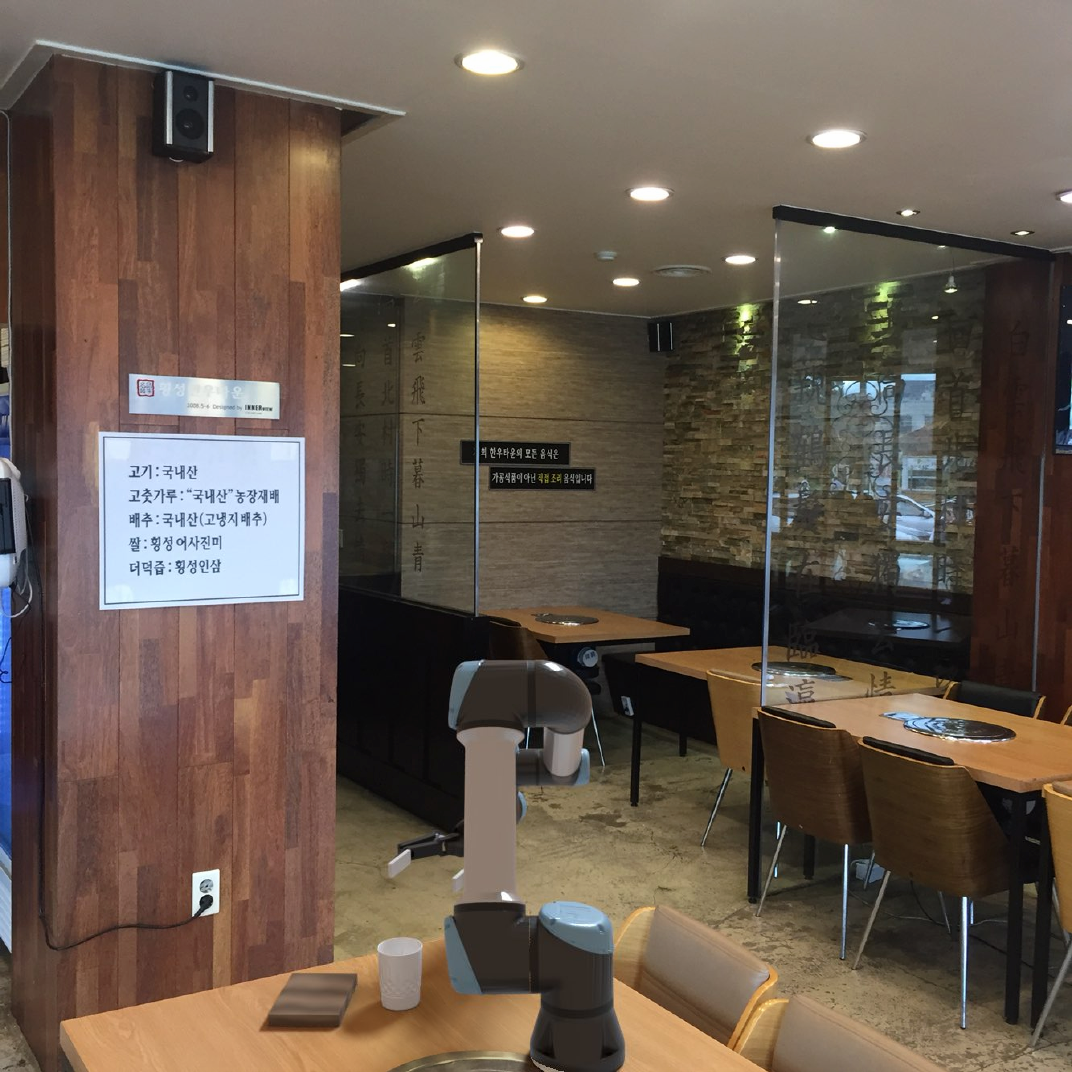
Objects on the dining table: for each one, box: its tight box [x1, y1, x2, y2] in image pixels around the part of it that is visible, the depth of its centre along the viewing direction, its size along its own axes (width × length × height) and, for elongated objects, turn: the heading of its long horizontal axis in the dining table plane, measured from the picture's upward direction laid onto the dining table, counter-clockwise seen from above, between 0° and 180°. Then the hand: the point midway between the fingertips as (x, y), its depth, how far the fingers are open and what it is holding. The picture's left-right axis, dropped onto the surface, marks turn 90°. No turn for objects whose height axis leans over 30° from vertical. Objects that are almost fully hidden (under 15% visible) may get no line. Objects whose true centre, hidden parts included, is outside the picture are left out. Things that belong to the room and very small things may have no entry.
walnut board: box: [267, 972, 359, 1028], centre depth 192 cm, size 16×12×2 cm
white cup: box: [376, 937, 423, 1012], centre depth 193 cm, size 8×8×10 cm
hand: (421, 878), depth 199 cm, fingers open, 13 cm apart
